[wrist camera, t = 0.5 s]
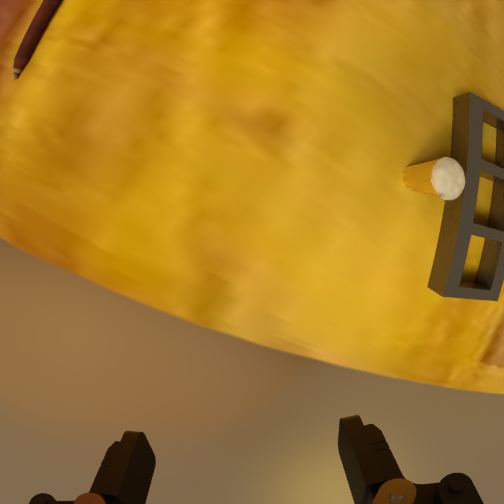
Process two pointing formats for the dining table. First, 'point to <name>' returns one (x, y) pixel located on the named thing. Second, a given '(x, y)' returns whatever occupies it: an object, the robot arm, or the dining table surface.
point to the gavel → (32, 35)
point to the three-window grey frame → (472, 207)
